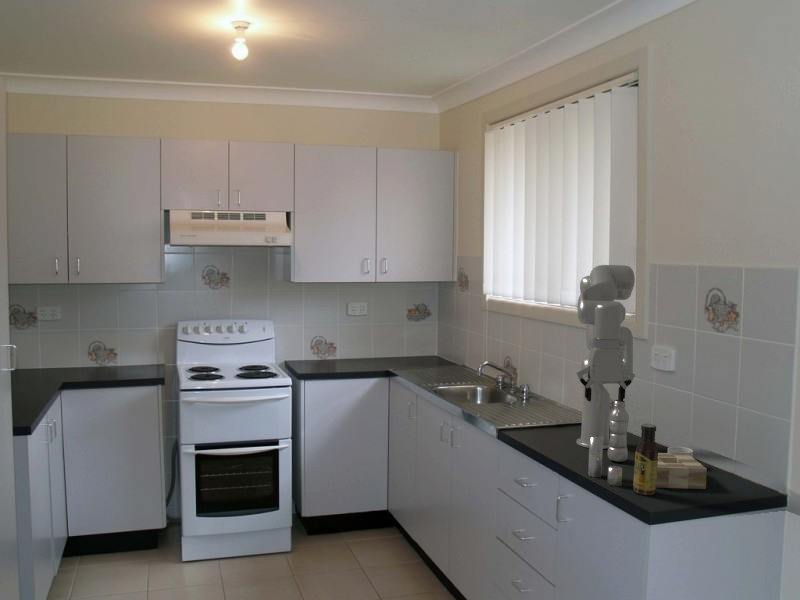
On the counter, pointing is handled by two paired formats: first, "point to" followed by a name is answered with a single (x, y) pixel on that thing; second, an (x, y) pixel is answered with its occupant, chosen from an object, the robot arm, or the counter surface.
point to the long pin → (595, 456)
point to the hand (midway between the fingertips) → (604, 400)
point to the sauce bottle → (646, 462)
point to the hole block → (680, 472)
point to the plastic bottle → (618, 432)
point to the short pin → (614, 475)
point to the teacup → (680, 450)
